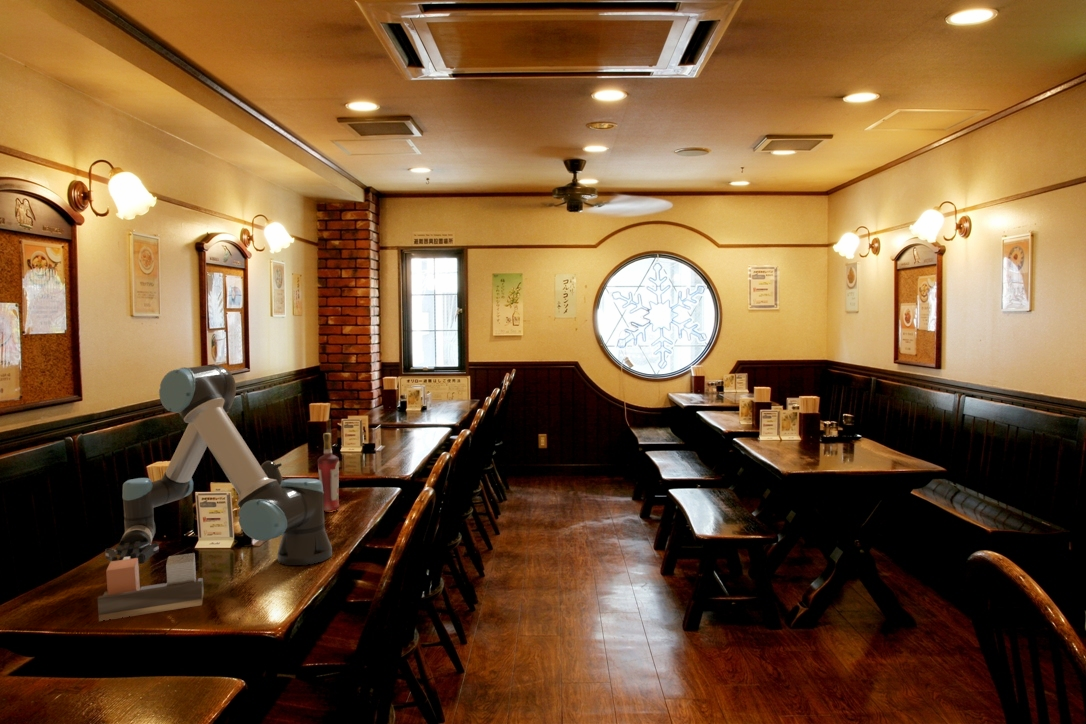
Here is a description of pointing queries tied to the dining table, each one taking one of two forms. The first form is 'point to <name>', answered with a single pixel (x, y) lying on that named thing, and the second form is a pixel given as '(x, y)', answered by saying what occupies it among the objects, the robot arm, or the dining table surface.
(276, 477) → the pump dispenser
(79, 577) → the dining table surface
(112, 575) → the terracotta plunger
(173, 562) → the gray block
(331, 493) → the liquor
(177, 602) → the base
